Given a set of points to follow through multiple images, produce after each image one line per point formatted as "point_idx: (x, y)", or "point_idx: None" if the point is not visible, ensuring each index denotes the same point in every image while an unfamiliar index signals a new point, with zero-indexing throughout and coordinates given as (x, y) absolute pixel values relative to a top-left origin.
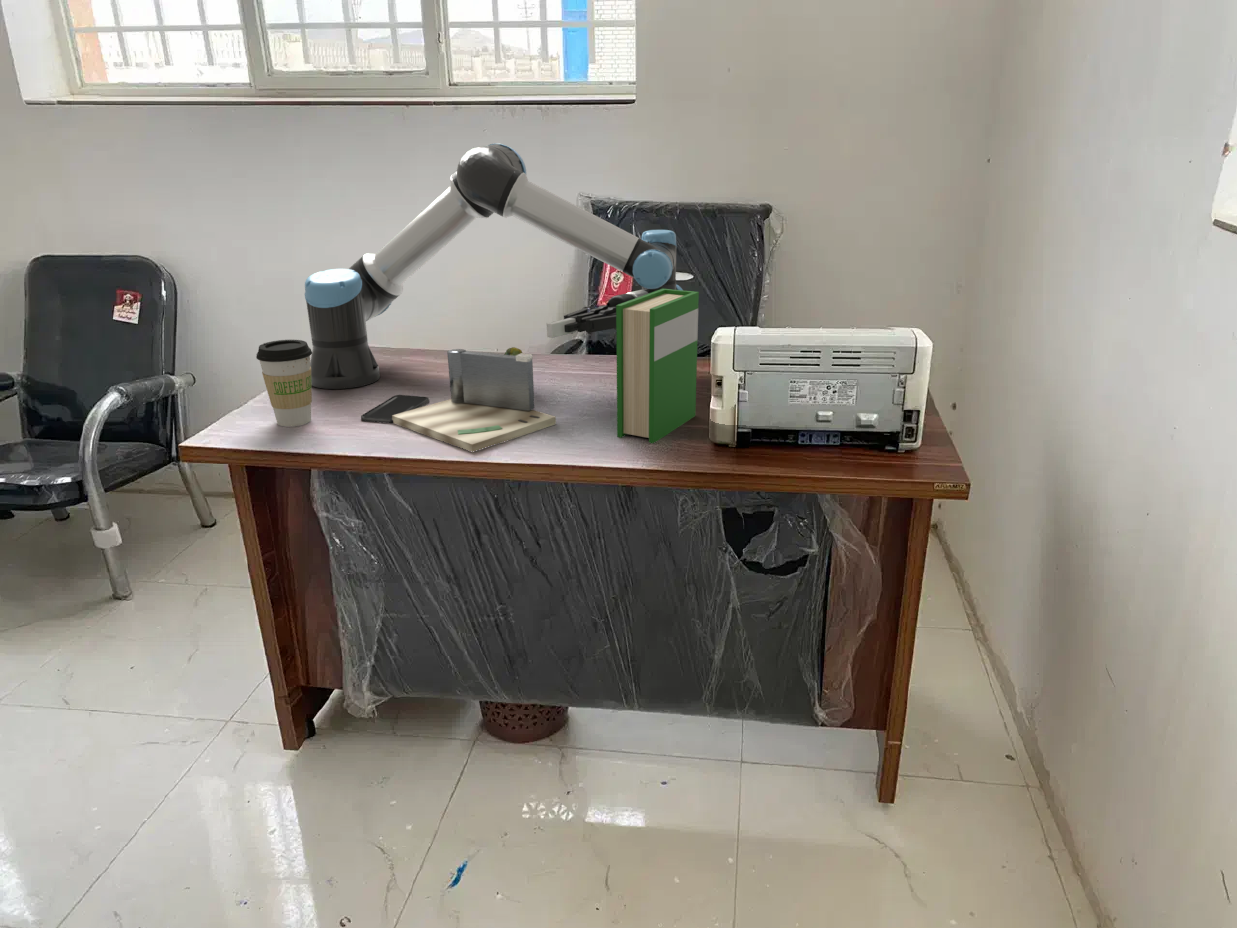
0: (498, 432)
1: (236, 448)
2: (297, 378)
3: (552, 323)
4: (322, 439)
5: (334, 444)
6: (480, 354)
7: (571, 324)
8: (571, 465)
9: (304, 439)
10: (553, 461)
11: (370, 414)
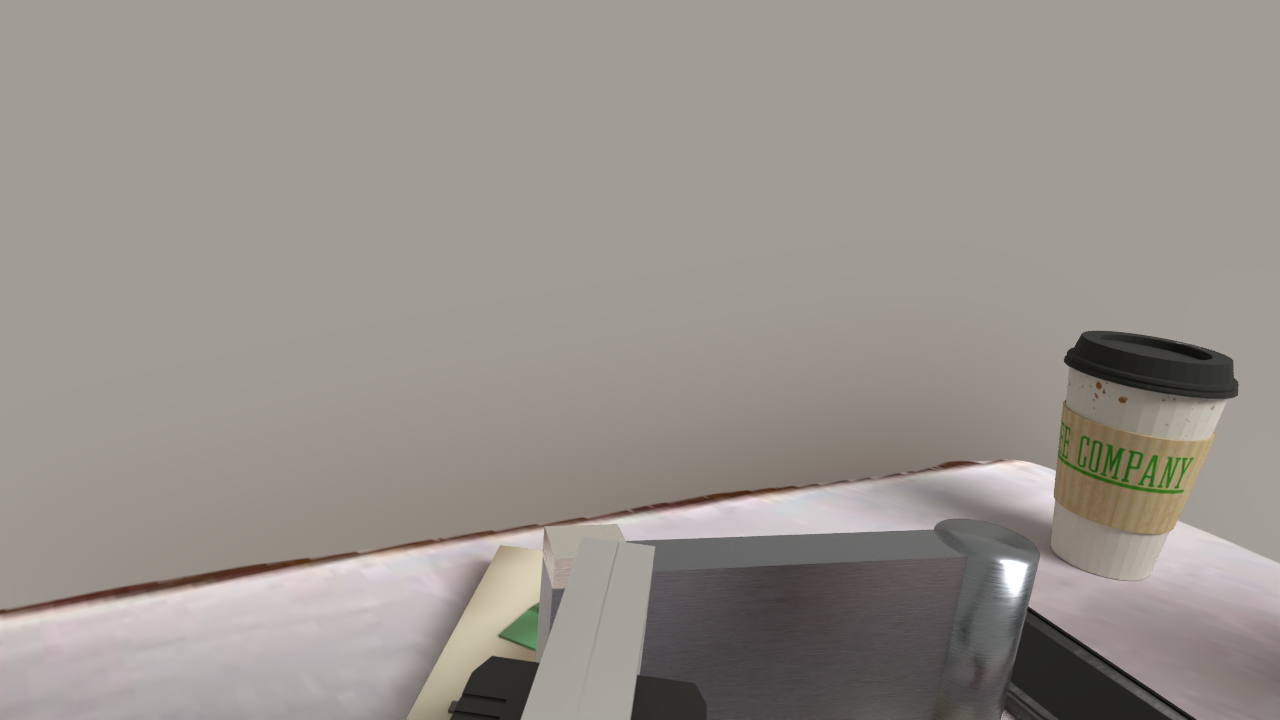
0: (490, 615)
1: (954, 469)
2: (1065, 419)
3: (601, 552)
4: (900, 522)
5: (844, 515)
6: (839, 540)
7: (480, 700)
8: (132, 594)
9: (927, 514)
10: (208, 596)
11: (1027, 621)
